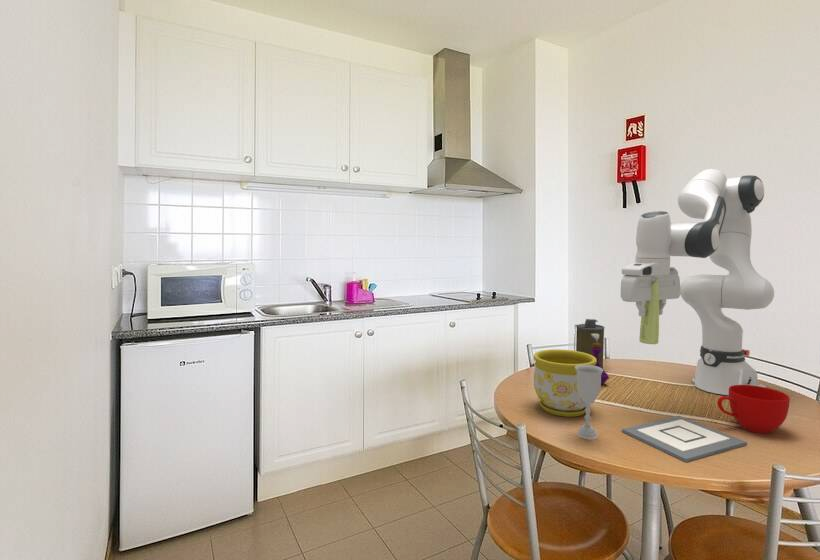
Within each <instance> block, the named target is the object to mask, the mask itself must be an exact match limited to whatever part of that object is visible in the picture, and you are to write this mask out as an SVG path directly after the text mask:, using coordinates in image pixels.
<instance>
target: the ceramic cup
mask: <svg viewBox="0 0 820 560" xmlns="http://www.w3.org/2000/svg"><path fill="white" fill-rule="evenodd" d="M724 400H728V403H729V408H730V412H729V411H727V410H726V409H724V407H723V405H722V404H723V401H724ZM790 400H791V398H790V396H789V395H788V394H787V393H785V392H783V391H780V390H777V389H773V388H770V387H766V388H765V387H760V386H753V385H733V386H730V387H729V395H723V396H722V395H721V396H719V398H718V399H717V406H718V407H717V408H719V410H720V411H721V412H722V413H724V414H726V415H727V416H729V417H734V419H735V420H736V421H737V423H739V425H740V426H741V428H743V429H744V430H747V431H750V432H753V433H757V434H771V433H772V432H774V431H775V430H777V429H778V428H780V427H781V426H782V424H784V422H785V420H786V419H787V416H788V414H789V408H790V402H791V401H790Z"/></svg>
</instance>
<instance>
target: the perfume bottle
mask: <svg viewBox="0 0 820 560" xmlns="http://www.w3.org/2000/svg"><path fill="white" fill-rule="evenodd" d="M591 337H592V338H595V339H596V340H598V339H599V334H591ZM591 350H592V351H593V356H594V357H595V358H596V359H597V363H596V364H595V366H597V367H600V368H602V367H601V365H600V364H599V360H598V357H599V353H600V352H601V351H603V348H601V344H599V343H593V347H591ZM603 352H604V351H603ZM602 369H603V372H602V374H601V386H602V385H604V384H605V383H606V381H607V380H608V379H610V376H609V375H608V374H607V372H606V371H605V370H604V367H603V368H602Z"/></svg>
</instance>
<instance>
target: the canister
mask: <svg viewBox="0 0 820 560" xmlns="http://www.w3.org/2000/svg"><path fill="white" fill-rule="evenodd" d="M598 322H599V321H598V320H597V319H595V318H593V319H591V318H585V322H584V323H579V324H574V328H576V335H575V338H574V342H573V343H574V345H573V349H574V350H573V351H578V352H583V353H587V354H590V355H592V356H593V351H592V350H591V347H593V343H599V344H601V348H603V351H601V352H600V353H599V357H598V360H599V364H600V365H601V367H602V368H603V369H604V351H605V348H604V347H605V346H604V344H605V326H604V325H600V324H596V323H598ZM591 334H599V339H598V340H596V339H595V338H592V337H591Z"/></svg>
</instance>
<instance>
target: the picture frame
mask: <svg viewBox="0 0 820 560" xmlns="http://www.w3.org/2000/svg"><path fill="white" fill-rule="evenodd" d="M621 432H622V433H624V434H625V435H628V436H629V437H632V438H634V439H636V440H637V441H640V442H643V443H645V444H647V445H648V446H651V447H653V448H655V449H657V450H659V451H662V452H663V453H666V454H667V455H670V456H672V457H674V458H676V459H678V460H680V461H682V462H684V463H688V462H692V461H696V460H698V459H701V458H705V457H710V456H712V455H715V454H716V453H717V454H719V452H720V453H723V452H722V451H724V452H727V451H730V449H731V450H733V448H734V449H737V447H738V448H741V447H744V446H747V445H748V441H747V440H743V439H741V438H738V437H735V436H733V435H730V434H728V433H726V432H722V431H720V430H717V429H714V428H711V427H709V426H707V425H705V424H702V423H699V422H696V421H693V420H691V419H688V418H685V417H684V416H680V415H677V416H674V417H673V416H672V417H668V418H664V419H659V420H655V421H651V422H650V421H649V422H646V423H643V424H642V423H641V424H638V425H633V426H629V427H625V428H623V427H622V428H621ZM740 446H741V447H740ZM726 450H727V451H726ZM709 455H710V456H709Z"/></svg>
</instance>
